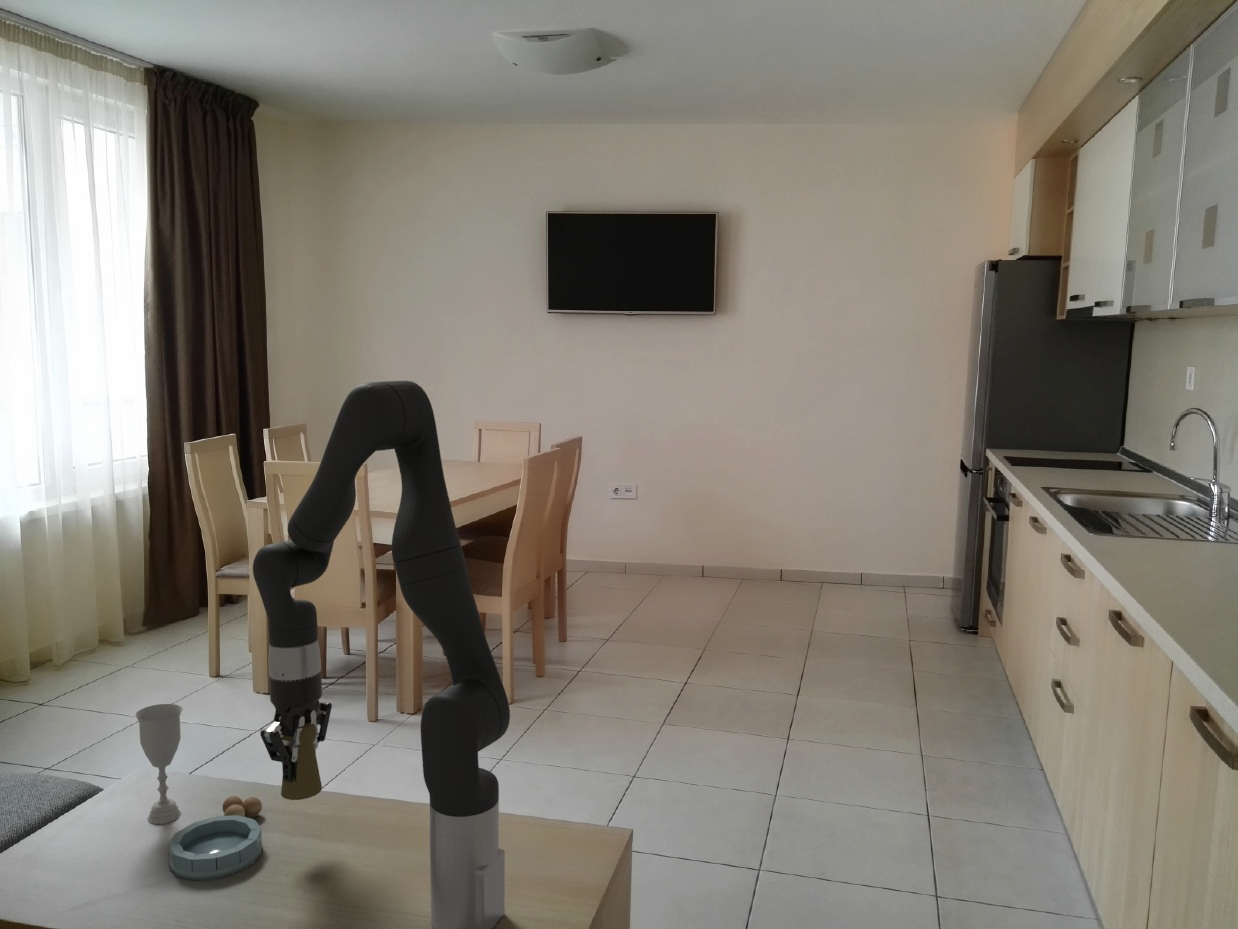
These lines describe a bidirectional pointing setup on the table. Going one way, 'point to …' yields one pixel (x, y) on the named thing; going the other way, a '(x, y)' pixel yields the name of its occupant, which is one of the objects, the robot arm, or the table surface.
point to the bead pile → (242, 807)
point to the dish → (215, 847)
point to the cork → (304, 767)
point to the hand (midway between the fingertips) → (300, 777)
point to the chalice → (161, 752)
